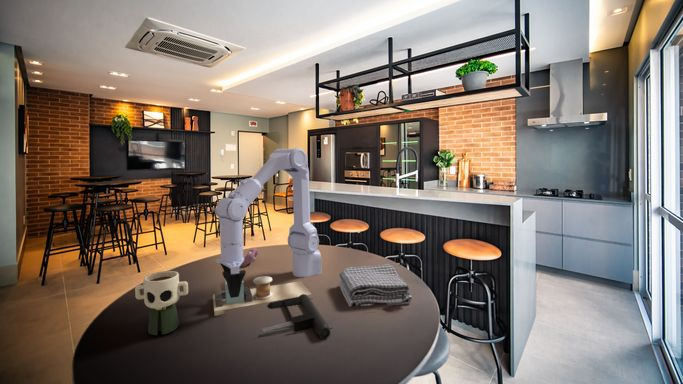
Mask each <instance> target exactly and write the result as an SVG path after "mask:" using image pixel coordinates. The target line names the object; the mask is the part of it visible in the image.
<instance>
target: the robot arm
mask: <svg viewBox="0 0 683 384" xmlns="http://www.w3.org/2000/svg"><path fill="white" fill-rule="evenodd" d="M308 161H309V160H308V153H306V152H305V151H304V150H303V149H302V148H300V147H297V148H277V149H274V151H273V152H272V153H271V154H270V155H269V158H268V159H267V161H266V162H264V163H263V165H262V166H261V167H260V168H259V170H257V172H256V173H255V174H254V176H253V177H252V178H250V177H249V178H248V177H247V178H245V179H241V181H239V183H240V184H239V185H238V186H236V187H235V189H234V190H233V191H230V192H229V193H228V194H227V195H228V196H227V197H223V198H221V199H219V201H218V202H217V204H216V207H215V208H214V213H215V215H216V217H218V223H219V233H220V234H219V235H220V236H219V237H220V239H219V240H220V243H219V244H220V258H217V259H216V262H215V263H216V264H220V266H221V268H222V270H223V271H222V276H223V278H224V281H226V282H227V285H228V290H229V294H230V297H231V298H234V297H239V294H240V289H241V284H242V280H243V281H244V278H245V276H246V273H247V271H246V269H242V270H240V268H241V267H240V265H241V264H242V263H243V261H244V258H245V257H244V233H243V230H244V229H243V223H244V222H243V219H244V218H245V217H246V216H247V213H248V209H249V207H250V205H251V204H252V203H253V202H254V201H255V199H257V197H259V195H261V193H262V189H263V188H262V186H263V185H265V183H268V181H269V180H270V179H271V178H272V177H273V176H275V175H276V174H277V173H278V172H279V171H283V172H284V171H285V172H286V173H287V174H289V176H290V177H291V178H292V199H293V201H292V202H293V203H292V205H293V224H292V225H291V226H290V227H289V229H288V230H289V231H288V236H287V245H288V247H289V248H290V250H291V252H292V275H293V276H294V277H297V278H309V277H312V276H317V275H318V276H319V275H322V255H321V251H320V250H319V249H318V247H319V243H320V239H319V236H318V230H317V228H316V227H315V226H314V225H313V224H312V223H311V200H310V198H311V197H310V170H309V166H308V165H309V163H308Z"/></svg>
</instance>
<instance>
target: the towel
mask: <svg viewBox="0 0 683 384" xmlns="http://www.w3.org/2000/svg"><path fill="white" fill-rule="evenodd" d="M339 277H340V281H339V283H338V284H339V285H338V286H339V289H340V291H341V293H342V296H343V297H344V299H345V301H346V303H347V305H348V306H349V307H353V305H355V307H357V306H359V305H360V306H363V307H364V306H373V305H374V304H386V305H387V306H397V305H408V304H409V305H410V304H411V300H412V299H413V297H412V295H410V285H408V283H406V282H405V280H404V279H403V278H402V277H400V276H399V274H398V273H397V270H396V269H395V267H394V266H393V264H391V263H387V264H381V265H380V264H378V265H365V266H351V267H346V268H344V269H343V270H342V271H340V273H339Z"/></svg>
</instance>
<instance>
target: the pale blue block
mask: <svg viewBox="0 0 683 384" xmlns="http://www.w3.org/2000/svg"><path fill="white" fill-rule="evenodd" d="M244 283H245V282H244V279H243V280H242V284H241V289H240V294H239V297H234V298H231V297H230V294H229V290H228V285H227V282H226V280H224V284H225V285H224V286H225V287H224V288H225V289H224V291H225V294H226V304H232V303H238V302H244V288H245V285H244Z"/></svg>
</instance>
